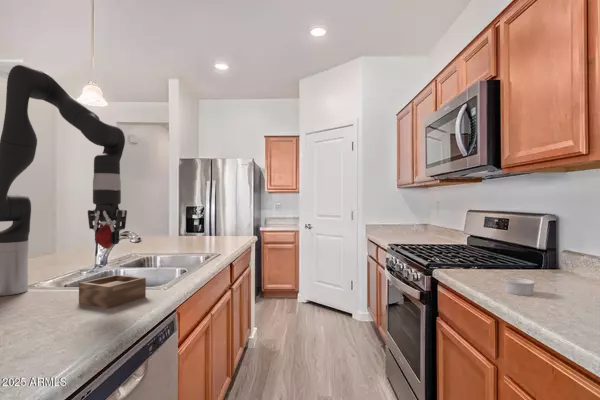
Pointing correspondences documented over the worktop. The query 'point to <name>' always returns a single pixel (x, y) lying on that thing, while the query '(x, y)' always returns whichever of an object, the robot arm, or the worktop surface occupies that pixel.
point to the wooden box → (112, 291)
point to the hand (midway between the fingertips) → (107, 243)
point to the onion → (104, 236)
